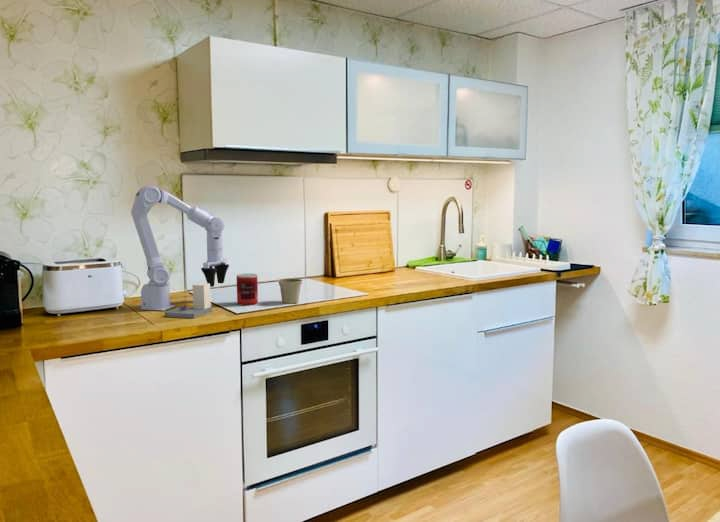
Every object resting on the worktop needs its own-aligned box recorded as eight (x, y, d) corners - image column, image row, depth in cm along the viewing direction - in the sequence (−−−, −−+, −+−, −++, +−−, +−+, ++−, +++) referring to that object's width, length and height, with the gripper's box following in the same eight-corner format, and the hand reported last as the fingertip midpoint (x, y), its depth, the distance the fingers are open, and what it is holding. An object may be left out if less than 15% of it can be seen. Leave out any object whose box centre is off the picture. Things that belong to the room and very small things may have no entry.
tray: (164, 316, 189) (164, 312, 188) (184, 309, 201) (184, 305, 200) (193, 318, 186) (193, 313, 186) (212, 310, 198) (211, 306, 198)
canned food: (248, 300, 217) (248, 272, 215) (262, 303, 211) (261, 274, 210) (232, 303, 211) (232, 275, 209) (246, 306, 206) (245, 277, 204)
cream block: (193, 309, 200) (192, 284, 199) (199, 307, 205) (198, 282, 203) (204, 310, 199) (203, 285, 198) (210, 307, 204) (210, 283, 202)
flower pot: (299, 299, 219) (299, 277, 218) (305, 303, 211) (305, 281, 210) (275, 301, 216) (275, 279, 215) (281, 305, 207) (280, 282, 206)
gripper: (215, 251, 202) (216, 288, 203) (233, 247, 216) (234, 282, 217) (197, 250, 203) (198, 287, 205) (216, 247, 217) (218, 281, 219)
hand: (216, 284), depth 211 cm, fingers open, 7 cm apart
